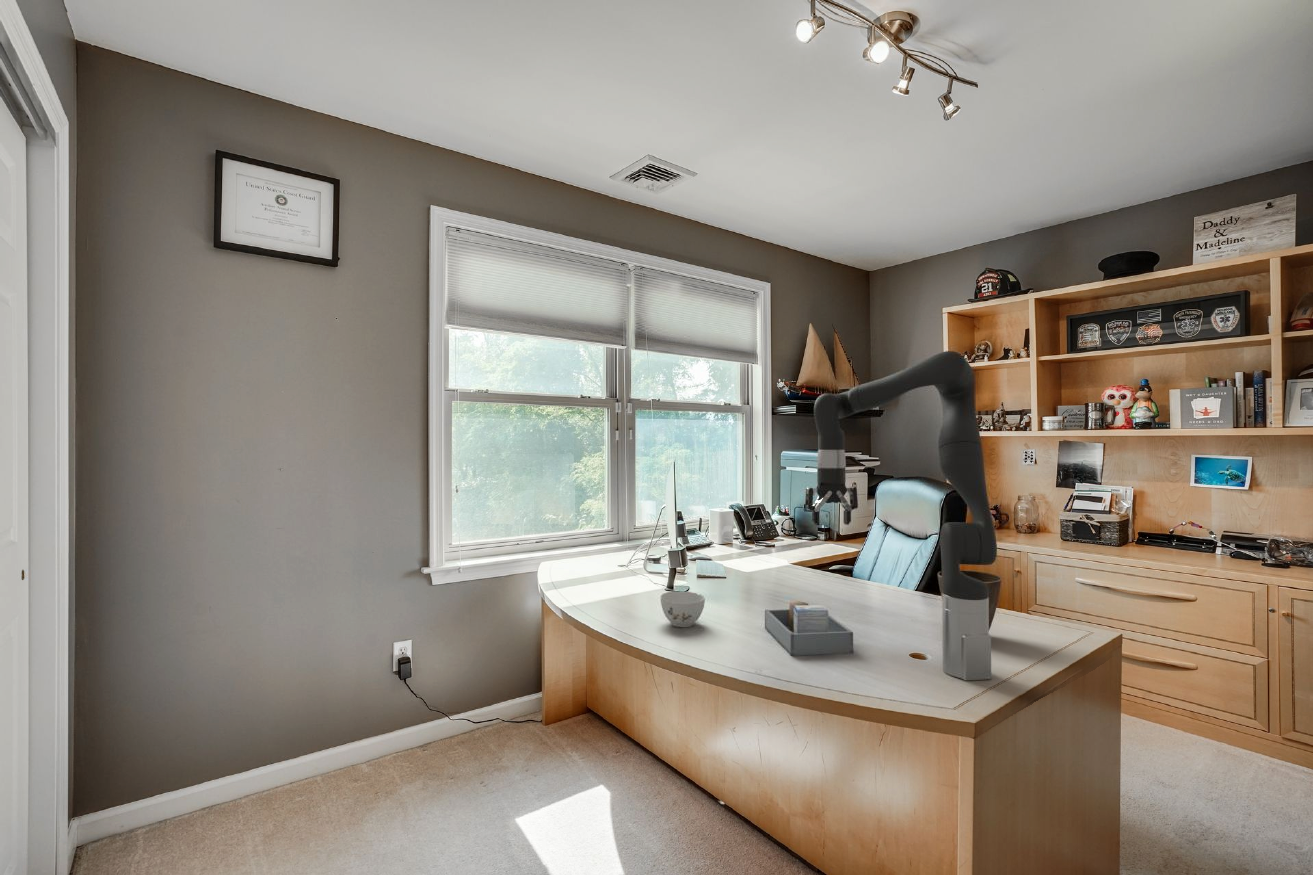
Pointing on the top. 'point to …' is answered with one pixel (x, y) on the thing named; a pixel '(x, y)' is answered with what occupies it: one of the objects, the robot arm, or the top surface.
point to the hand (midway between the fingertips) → (831, 524)
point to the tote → (808, 636)
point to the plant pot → (993, 587)
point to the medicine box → (810, 619)
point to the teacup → (682, 607)
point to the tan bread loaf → (791, 613)
